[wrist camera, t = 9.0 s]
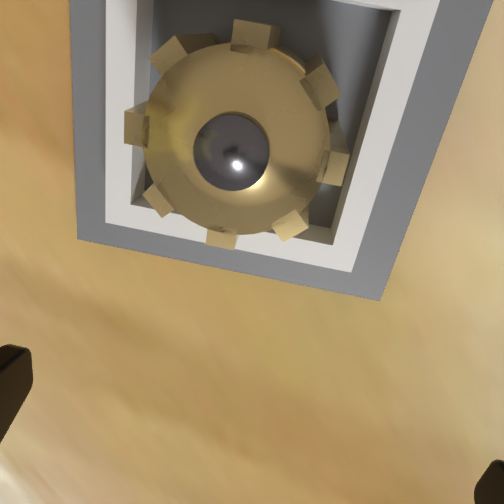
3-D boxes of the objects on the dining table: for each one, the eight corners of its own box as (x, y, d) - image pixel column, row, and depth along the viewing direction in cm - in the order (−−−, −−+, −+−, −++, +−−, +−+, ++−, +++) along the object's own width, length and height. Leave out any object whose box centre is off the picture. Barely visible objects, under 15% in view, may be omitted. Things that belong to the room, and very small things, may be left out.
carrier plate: (514, -79, 13) (552, -100, 11) (377, 291, 20) (385, 322, 18) (76, -159, 14) (34, -192, 12) (85, 231, 20) (59, 255, 18)
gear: (358, 40, 15) (384, 47, 10) (316, 207, 18) (318, 277, 13) (181, 7, 15) (117, -3, 10) (168, 177, 18) (114, 235, 13)
